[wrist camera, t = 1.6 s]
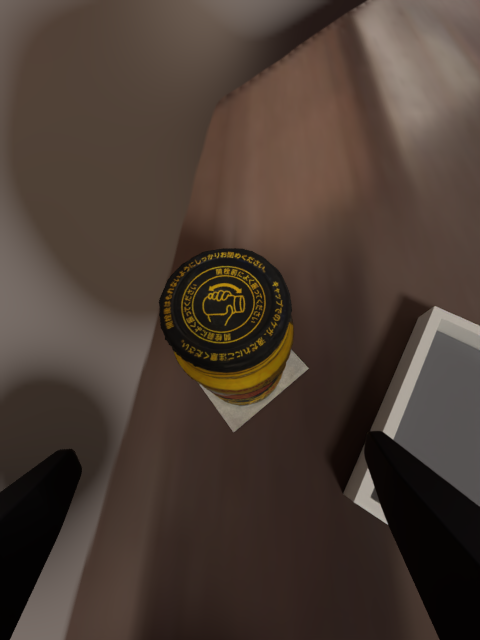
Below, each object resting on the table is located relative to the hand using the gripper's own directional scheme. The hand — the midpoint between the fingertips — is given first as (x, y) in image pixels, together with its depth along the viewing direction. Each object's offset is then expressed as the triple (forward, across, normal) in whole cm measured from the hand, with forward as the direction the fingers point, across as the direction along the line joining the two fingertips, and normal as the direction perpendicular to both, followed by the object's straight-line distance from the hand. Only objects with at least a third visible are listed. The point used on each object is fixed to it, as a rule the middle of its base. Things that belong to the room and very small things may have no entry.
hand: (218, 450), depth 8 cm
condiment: (+13, 0, +4) cm, 14 cm away
